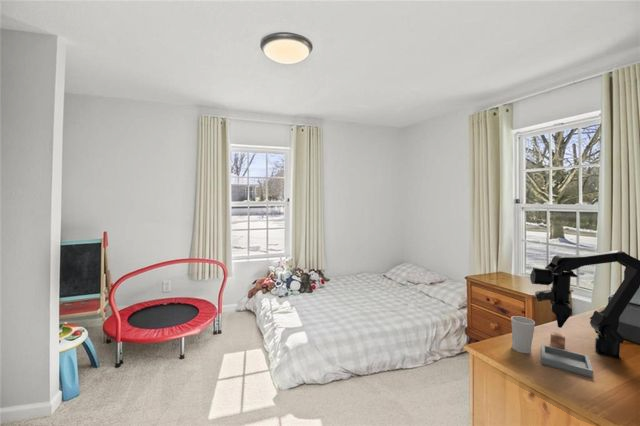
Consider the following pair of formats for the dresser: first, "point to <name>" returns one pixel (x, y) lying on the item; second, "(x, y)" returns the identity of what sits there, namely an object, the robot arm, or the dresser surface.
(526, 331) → the cup
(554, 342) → the block
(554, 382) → the dresser surface
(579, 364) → the tray
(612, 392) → the dresser surface
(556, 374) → the dresser surface
